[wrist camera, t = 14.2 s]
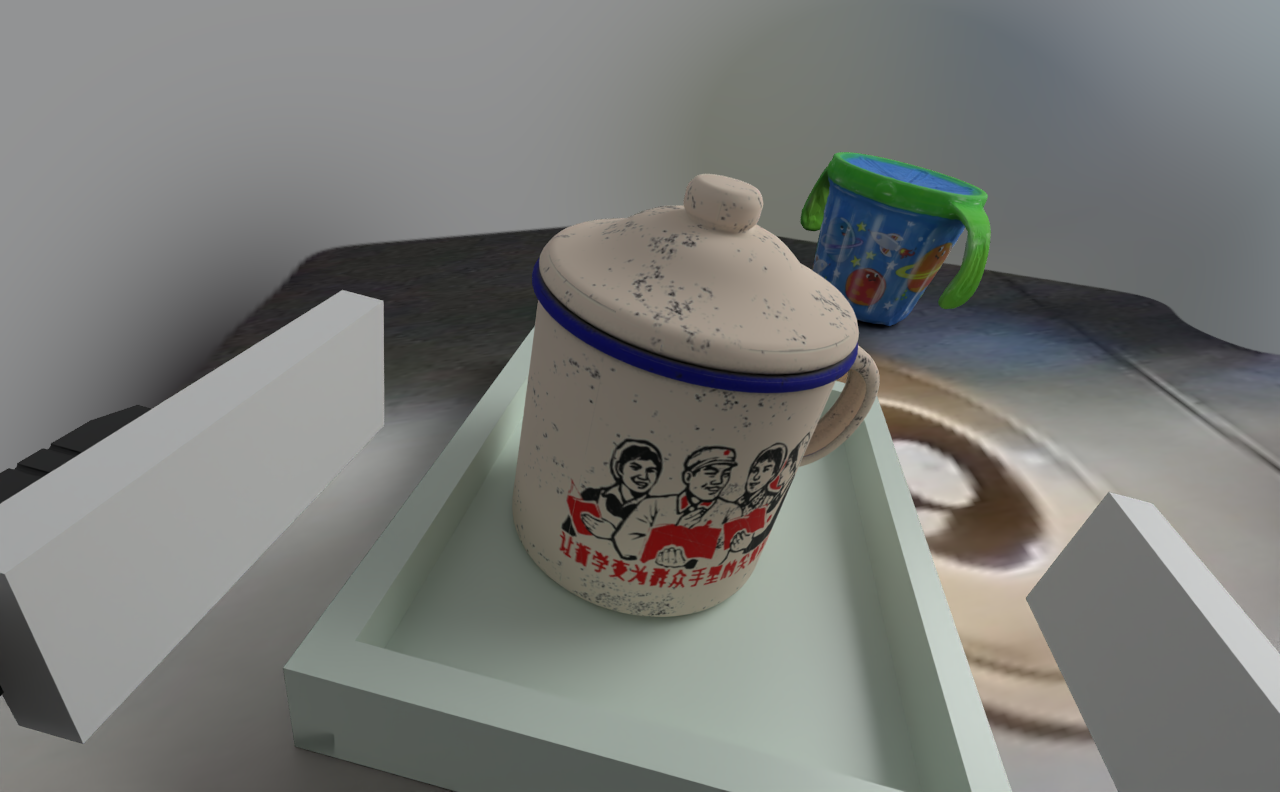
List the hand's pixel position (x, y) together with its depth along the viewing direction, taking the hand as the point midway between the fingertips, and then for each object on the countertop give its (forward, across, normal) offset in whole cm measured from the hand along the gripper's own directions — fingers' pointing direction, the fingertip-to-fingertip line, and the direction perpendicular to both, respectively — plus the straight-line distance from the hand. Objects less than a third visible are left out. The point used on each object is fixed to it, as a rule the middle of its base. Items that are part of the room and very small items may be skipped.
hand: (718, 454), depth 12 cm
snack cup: (+38, +11, -10) cm, 41 cm away
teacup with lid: (+8, 0, -9) cm, 12 cm away
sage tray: (+8, 0, -9) cm, 12 cm away
